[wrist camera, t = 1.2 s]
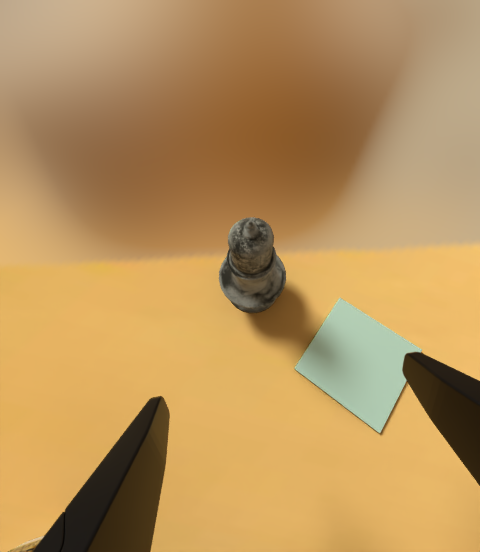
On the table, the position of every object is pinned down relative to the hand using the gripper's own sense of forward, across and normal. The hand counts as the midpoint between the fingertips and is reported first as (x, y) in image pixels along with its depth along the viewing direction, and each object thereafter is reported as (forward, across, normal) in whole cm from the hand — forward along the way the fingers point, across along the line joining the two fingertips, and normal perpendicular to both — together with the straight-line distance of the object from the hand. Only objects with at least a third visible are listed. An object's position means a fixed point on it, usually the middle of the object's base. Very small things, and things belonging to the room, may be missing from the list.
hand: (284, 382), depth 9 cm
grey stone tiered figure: (+15, 0, +4) cm, 16 cm away
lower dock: (+9, -8, +10) cm, 16 cm away
